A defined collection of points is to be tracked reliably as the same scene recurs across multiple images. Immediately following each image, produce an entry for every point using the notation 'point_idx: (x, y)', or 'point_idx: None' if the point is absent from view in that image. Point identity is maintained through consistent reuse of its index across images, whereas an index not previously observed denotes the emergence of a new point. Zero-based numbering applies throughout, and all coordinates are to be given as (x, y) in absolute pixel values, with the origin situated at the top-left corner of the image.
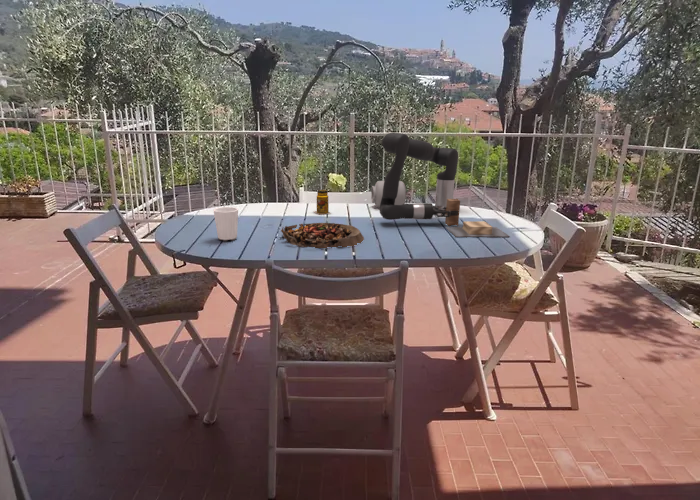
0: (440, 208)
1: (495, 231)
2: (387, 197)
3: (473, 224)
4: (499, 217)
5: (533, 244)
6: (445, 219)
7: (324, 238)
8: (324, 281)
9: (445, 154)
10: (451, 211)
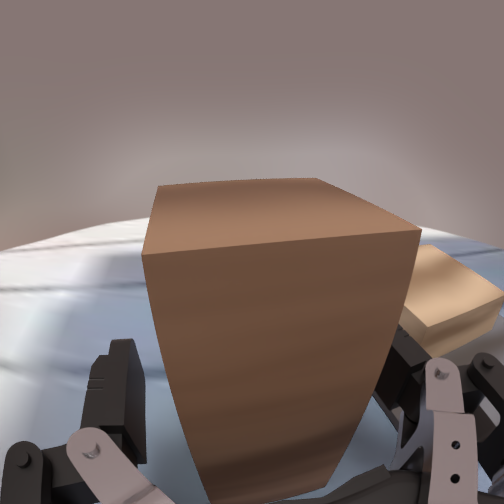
0: (446, 501)
1: None
2: None
3: (453, 286)
4: (86, 248)
5: (427, 229)
6: (214, 500)
7: None
8: None
9: None
10: (415, 357)
